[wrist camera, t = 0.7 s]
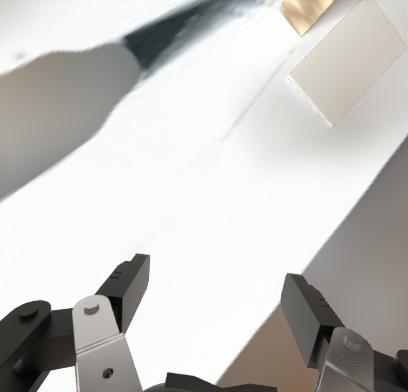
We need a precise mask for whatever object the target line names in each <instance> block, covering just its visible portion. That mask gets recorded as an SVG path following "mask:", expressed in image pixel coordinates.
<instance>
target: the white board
mask: <svg viewBox="0 0 408 392" xmlns="http://www.w3.org/2000/svg"><path fill="white" fill-rule="evenodd" d="M406 48H407V46H406V44H405V43H404V42H403V40H402V39H401V37H400V36H399V35H398V33H397V32H396V30H395V29H394V27H393V26H392V25H391V23H390V22H389V20H388V19H387V18H386V16H385V15H384V13H383V12H382V11H381V9H380V8H379V6H378V5H377V3H376V2H375V1H374V0H360V1H359V2H358V3H357V4H356V5H355V6H354V8H353V9H352V10H351V11H350V12H349V13H348V14H347V15H346V16H345V17H344V18H343V19H342V20H341V21H340V22H339V23H338V24H337V25H336V26H335V27H334V28H333V29H332V30H331V31H330V33H329V34H328V35H327V36H326V37H325V38H324V39H323V40H322V41H321V42H320V43H319V44H318V45H317V46H316V47H315V48H314V49H313V50H312V51H311V52H310V53H309V54H308V55H307V56H306V57H305V59H304V60H303V61H302V62H301V63H300V64H299V65H298V66H297V67H296V68H295V69H294V70H293V71H292V72H291V73H290V74H289V75H288V76H287V78H288V79H289V80H290V82H291V83H292V84H293V85H294V86H295V88H296V89H297V90H298V91H299V92H300V94H301V95H302V96H303V97H304V98H305V99H306V101H307V102H308V103H309V104H310V105H311V107H312V108H313V109H314V110H315V111H316V112H317V114H318V115H319V116H320V117H321V118H322V120H323V121H324V122H325V123H326V124H327V126H328V127H332V126H334V124H335V123H336V122H337V121H338V120H339V119H340V118H341V117H342V116H343V115H344V114H345V113H346V112H347V111H348V110H349V108H350V107H351V106H352V105H353V104H354V103H355V102H356V101H357V100H358V99H359V98H360V97H361V96H362V95H363V94H364V92H365V91H366V90H367V89H368V88H369V87H370V86H371V85H372V84H373V83H374V82H375V81H376V80H377V79H378V78H379V76H380V75H381V74H382V73H383V72H384V71H385V70H386V69H387V68H388V67H389V66H390V65H391V64H392V63H393V62H394V60H395V59H396V58H397V57H398V56H399V55H400V54H401V53H402V52H403V51H404V50H405V49H406Z"/></svg>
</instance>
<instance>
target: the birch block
mask: <svg viewBox="0 0 408 392" xmlns="http://www.w3.org/2000/svg"><path fill="white" fill-rule="evenodd" d="M335 1H336V0H283V2H282V4H281V5H280V7H279V11H280V12H281V13H282V14H283V16H284V17H285V18H286V19H287V21H288V22H289V23H290V24H291V26H292V27H293V28H294V29H295V31H296V32H297V33H298V34H299V36H300V37H302V36H303V35H304V34H305V33H306V32H307V31H308V29H309V28H310V27H311V26H312V25H313V24H314V23H315V22H316V21H317V20H318V19H319V18H320V17H321V16H322V15H323V14H324V13H325V12H326V11H327V10H328V8H329V7H330V6H331V5H332V4H333V3H334V2H335Z"/></svg>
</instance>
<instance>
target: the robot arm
mask: <svg viewBox="0 0 408 392" xmlns="http://www.w3.org/2000/svg"><path fill="white" fill-rule="evenodd" d="M149 268H150V255H146V254H138V253H137V254H136V255H135V256H134V257H133V259H132V260H131V261H125V262H123V263H121V264H120V265H118V266H117V267H116V269H115V270H114V271H113V273H112V274H111V275H110V276H109V278H108V279H107V280H106V281H105V282H104V283H103V285H102V286H101V287H100V288H99V290H98V291H97V292H96V293H95V295H92V296H88V297H86V298H84V299H82V300H80V301H79V302H78V303H77V304H76V305H75V306H74V308H69V309H61V310H53V311H51V305H50V303H49V302H47V301H43V300H38V301H32V302H28V303H25V304H23V305H21V306H19V307H17V308H15V309H14V310H12V311H11V312H10V313H9V314H8V315H7V316H5V317H4V318H3V319H2V320H1V321H0V392H37V390H38V389H39V387H40V386H41V384H42V383H43V381H44V380H45V378H46V377H47V375H48V374H49V372H50V371H51V370H56V369H61V368H66V367H71V366H75V376H76V389H77V392H277V388H276V387H269V386H263V385H255V384H245V385H239V386H233V387H227V388H220V387H218V386H216V385H213V384H211V383H209V382H206V381H204V380H202V379H200V378H197V377H195V376H191V375H183V374H176V373H169V372H167V377H166V382H165V383H161V384H158V385H154V386H152V387H150V388H148V389H146V390H144V391H143V390H142V387H141V384H140V381H139V378H138V374H137V371H136V368H135V365H134V362H133V359H132V356H131V353H130V350H129V347H128V344H127V341H126V338H125V333H126V331H127V329H128V327H129V325H130V323H131V321H132V319H133V316H134V314H135V312H136V310H137V308H138V306H139V304H140V302H141V300H142V297H143V295H144V293H145V291H146V289H147V286H148V281H149ZM281 306H282V309H283V311H284V314H285V316H286V319H287V321H288V323H289V326H290V328H291V331H292V333H293V335H294V337H295V340H296V342H297V345H298V347H299V350H300V352H301V354H302V357H303V359H304V362H305V364H306V366H307V368H315V369H318V371H319V373H320V374H319V377H318V380H317V384H316V387H315V391H314V392H408V350H399V351H398V352H397V354H396V356H395V358H393V357H391V356H387V355H385V354H382V353H380V352H377V351H375V350H373V348H372V347H371V345H370V344H369V343H368V341H367V340H366V339H364V338H363V337H362V336H361V335H359V334H358V333H356V332H354V331H352V330H350V329H348V328H346V327H345V326H344V325H343V323H342V322H341V321H340V319H339V318H338V316H337V315H336V314H335V312H334V311H333V310H332V308H331V307H330V306H329V304H328V303H327V302H326V301H325V299H324V297H323V296H322V294H321V293H320V292H319V291H318V290H317V289H315V288H314V287H313V286H312V285H308V283H307V281H306V280H305V278H304V277H303V276H302V275H299V274H291V273H287V275H286V277H285V281H284V286H283V290H282V294H281Z"/></svg>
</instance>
